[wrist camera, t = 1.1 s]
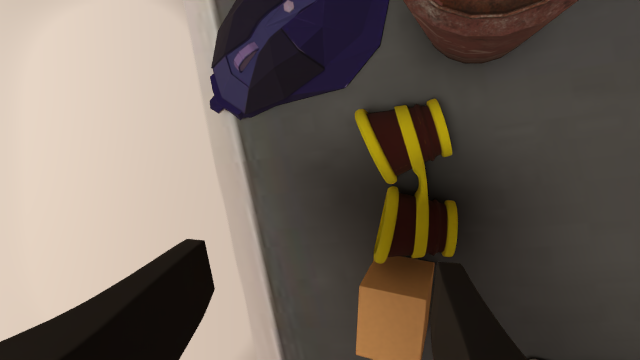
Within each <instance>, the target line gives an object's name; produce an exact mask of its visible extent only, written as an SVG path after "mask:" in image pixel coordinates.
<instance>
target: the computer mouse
mask: <svg viewBox="0 0 640 360" xmlns="http://www.w3.org/2000/svg"><path fill="white" fill-rule="evenodd" d="M388 2H389V0H236V1H235V3H234V5H233V6H232V8H231V10H230V11H229V13H228V15H227V16H226V18H225V20H224V22H223V23H222V25H221V27H220V28H219V30H218V34H217V39H216V45H215V50H214V56H213V62H212V67H211V68H213V72H214V74H213V75H212V76H210V79H211V84H212V89H213V93H214V97H213V98H212V99H211V100H210V108H211V109H212V110H214V111H215V112H217V113H221V112H222V111H223V110H224V109H226V110H228V111H229V112H231V113H232V114H233V115H234V116H236V117H237V118H238V119H240V120H241V119H243V118H246V117H253V116H255V115H257V114H259V113H262V112H264V111H266V110H268V109H270V108H272V107H274V106H277V105H281V104H285V103H288V102H292V101H296V100H300V99H304V98H308V97H312V96H315V95H319V94H323V93H327V92H331V91H335V90H339V89H342V88H345V87H346V86H347V85H348V84H349V83H350V81H351V80H352V79H353V78H354V76H355V75H356V74H357V73H358V71H359V70H360V69H361V68H362V66H363V65H364V64H365V63H366V62H367V60H368V59H369V58H370V57H371V55H372V54H373V53H374V52H375V50H376V49H377V48H378V47H379V46H380V42H381V37H382V32H383V27H384V22H385V17H386V12H387V7H388Z"/></svg>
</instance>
